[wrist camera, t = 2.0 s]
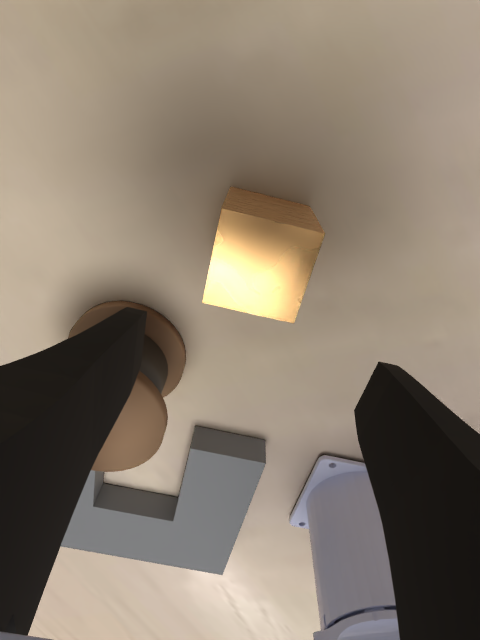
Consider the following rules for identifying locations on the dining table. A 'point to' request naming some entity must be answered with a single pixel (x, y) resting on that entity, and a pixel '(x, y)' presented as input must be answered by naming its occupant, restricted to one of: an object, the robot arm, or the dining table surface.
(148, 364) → the bobbin
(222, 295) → the block
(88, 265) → the dining table surface
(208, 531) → the notched board
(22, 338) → the dining table surface
